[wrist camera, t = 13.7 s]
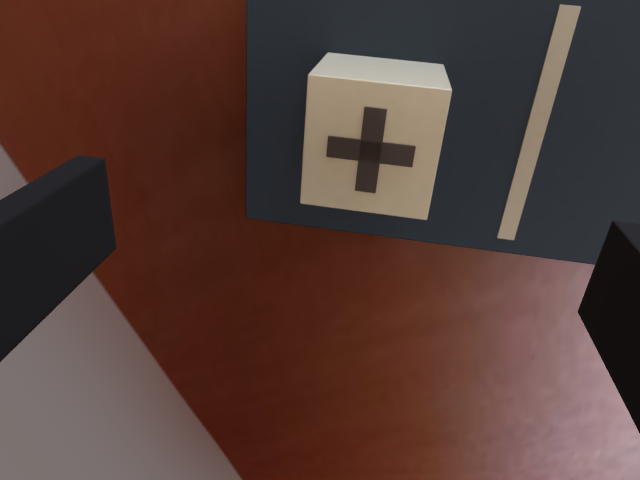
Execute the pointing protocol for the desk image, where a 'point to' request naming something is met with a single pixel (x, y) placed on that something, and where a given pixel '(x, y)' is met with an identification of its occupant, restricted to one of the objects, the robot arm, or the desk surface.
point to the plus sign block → (373, 134)
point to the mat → (468, 116)
